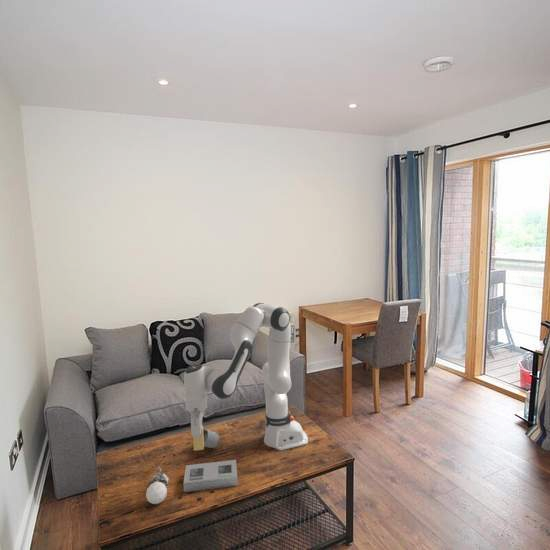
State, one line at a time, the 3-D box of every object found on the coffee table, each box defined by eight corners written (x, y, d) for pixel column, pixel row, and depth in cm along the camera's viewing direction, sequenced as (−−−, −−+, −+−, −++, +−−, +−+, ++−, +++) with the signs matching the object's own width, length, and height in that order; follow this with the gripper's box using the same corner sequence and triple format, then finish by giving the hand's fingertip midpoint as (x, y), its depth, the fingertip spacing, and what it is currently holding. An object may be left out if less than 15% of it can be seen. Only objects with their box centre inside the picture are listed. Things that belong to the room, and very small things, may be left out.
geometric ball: (168, 505, 147) (167, 486, 146) (147, 511, 144) (146, 492, 143) (166, 493, 154) (165, 474, 153) (145, 499, 151) (144, 480, 150)
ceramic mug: (213, 452, 185) (222, 441, 184) (199, 449, 181) (209, 437, 179) (208, 435, 194) (217, 424, 193) (195, 431, 189) (204, 420, 188)
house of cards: (142, 495, 154) (141, 477, 153) (148, 481, 162) (147, 464, 162) (165, 493, 154) (163, 476, 153) (169, 479, 163) (168, 463, 162)
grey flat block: (236, 468, 169) (236, 459, 169) (237, 485, 158) (237, 476, 157) (186, 473, 166) (185, 465, 166) (183, 492, 154) (183, 482, 154)
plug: (203, 444, 162) (202, 424, 161) (203, 449, 158) (202, 429, 157) (192, 445, 161) (190, 425, 160) (191, 450, 157) (190, 430, 156)
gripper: (202, 414, 148) (204, 447, 149) (204, 393, 168) (206, 422, 170) (186, 416, 147) (188, 449, 149) (190, 394, 167) (192, 423, 169)
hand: (198, 434), depth 159 cm, fingers closed on plug, 4 cm apart
